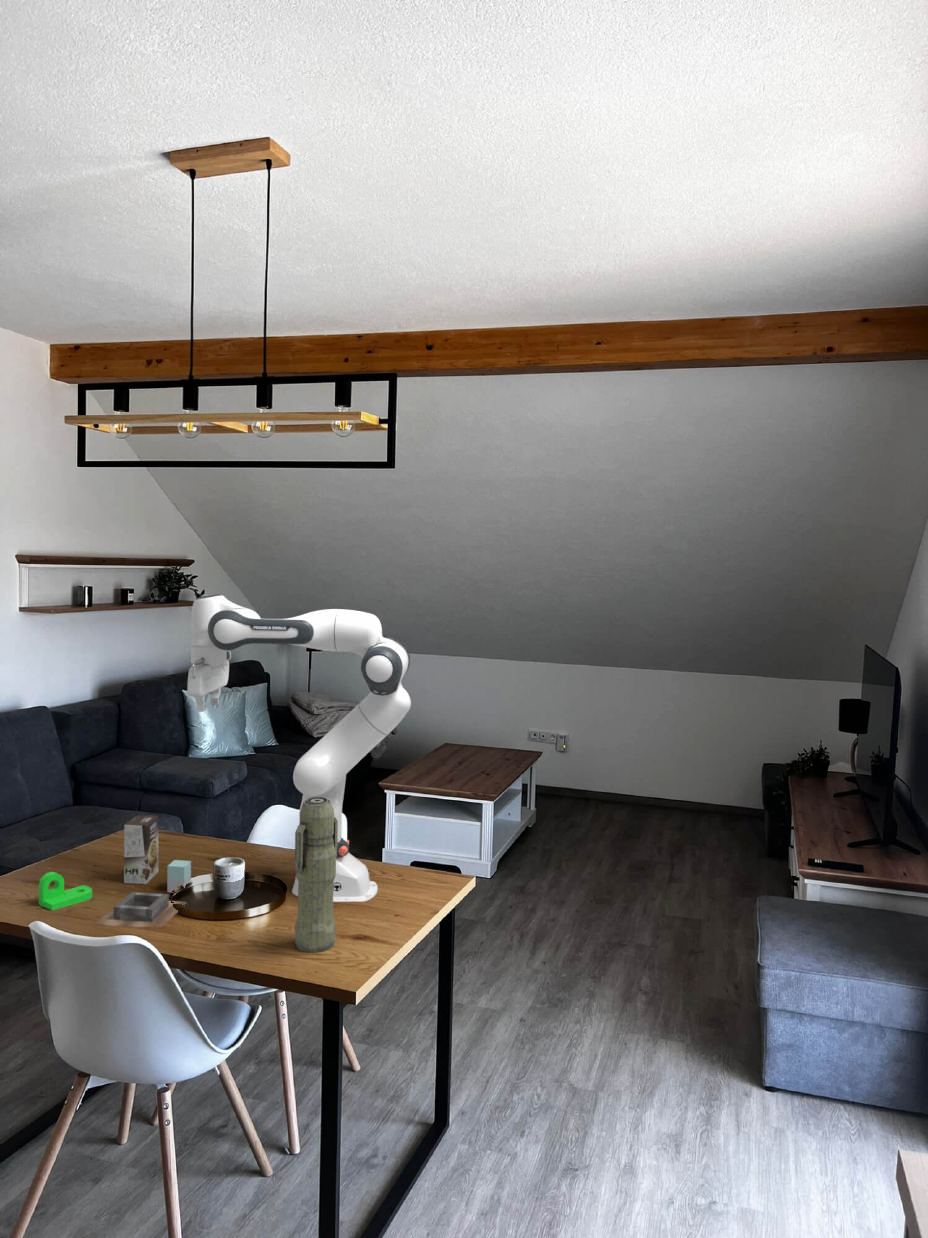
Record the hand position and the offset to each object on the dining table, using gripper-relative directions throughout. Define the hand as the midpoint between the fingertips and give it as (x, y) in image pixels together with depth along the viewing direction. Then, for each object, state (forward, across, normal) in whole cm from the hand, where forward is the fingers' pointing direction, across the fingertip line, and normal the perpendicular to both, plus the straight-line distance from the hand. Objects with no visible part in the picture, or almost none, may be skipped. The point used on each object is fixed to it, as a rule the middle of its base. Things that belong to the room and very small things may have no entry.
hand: (208, 708), depth 240 cm
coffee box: (+48, 0, +18) cm, 51 cm away
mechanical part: (+48, -18, +29) cm, 59 cm away
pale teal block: (+47, -6, +5) cm, 48 cm away
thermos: (+48, -36, -39) cm, 71 cm away
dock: (+47, -24, +7) cm, 54 cm away
